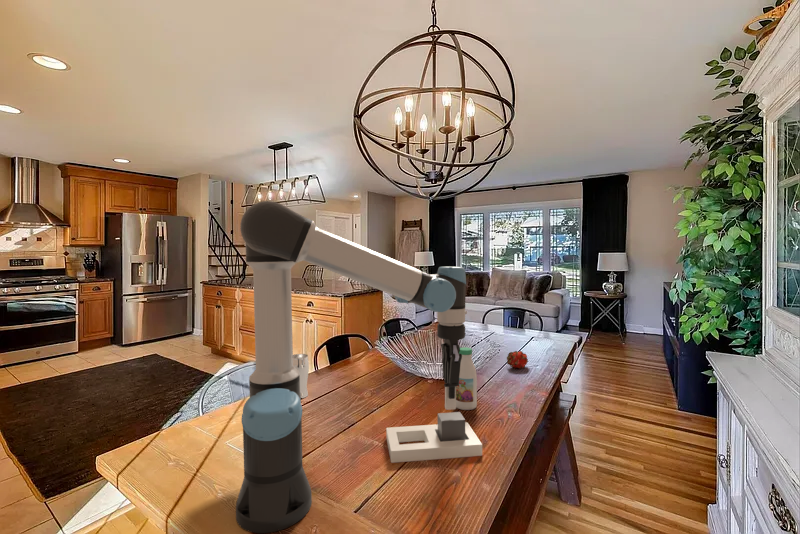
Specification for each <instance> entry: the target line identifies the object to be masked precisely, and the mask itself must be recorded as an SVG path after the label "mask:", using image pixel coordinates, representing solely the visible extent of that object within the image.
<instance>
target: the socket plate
mask: <svg viewBox="0 0 800 534" xmlns="http://www.w3.org/2000/svg"><path fill="white" fill-rule="evenodd" d="M385 433H386V443H387V449H388V454H389V458H390V459H389V460H390V463H403V462H404V463H405V462H418V461H420V462H421V461H430V460H431V461H432V460H441V459H442V460H443V459H456V458H457V459H458V458H469V457H482V456H483V443H482V442H481V441H480V439H479V437H478V436H477V434H476V433H475V432H474V430H473V429H472V427H471V426H470V424H469V423H468V422H467V421H465V440H455V441H442V442H440V440H439V438H438V423H437V424H436V423H435V424H424V425H423V424H422V425H410V426H409V425H408V426H393V427H391V426H390V427H386V430H385ZM419 441H420V442H419ZM421 441H422V442H421ZM423 441H424V442H423ZM407 442H408V443H407ZM409 442H413V443H409ZM414 442H415V443H414ZM400 443H403V444H400Z"/></svg>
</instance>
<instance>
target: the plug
mask: <svg viewBox="0 0 800 534" xmlns="http://www.w3.org/2000/svg"><path fill="white" fill-rule="evenodd" d="M465 422H466V419H465V417H464V416H463V414H462V413H461V411H454V412H453V411H452V412H439V413H437V424H438V438H439V440H440V442H442V441H455V440H465Z"/></svg>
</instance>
